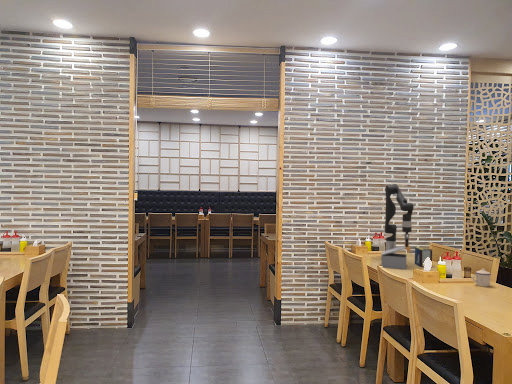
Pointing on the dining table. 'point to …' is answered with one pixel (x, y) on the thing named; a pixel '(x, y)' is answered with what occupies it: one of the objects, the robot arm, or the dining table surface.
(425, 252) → the protein box
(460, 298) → the dining table surface
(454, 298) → the dining table surface
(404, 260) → the carton
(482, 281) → the teacup with lid
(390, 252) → the carton lid
